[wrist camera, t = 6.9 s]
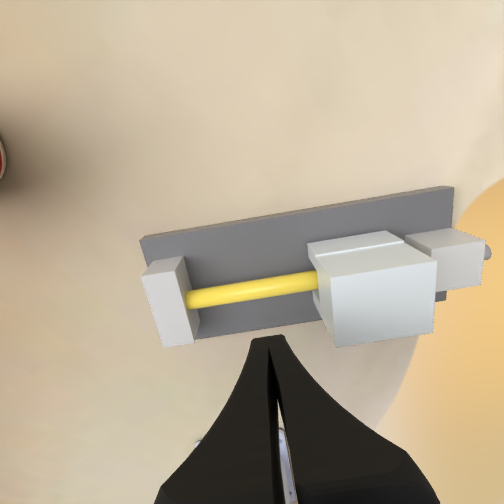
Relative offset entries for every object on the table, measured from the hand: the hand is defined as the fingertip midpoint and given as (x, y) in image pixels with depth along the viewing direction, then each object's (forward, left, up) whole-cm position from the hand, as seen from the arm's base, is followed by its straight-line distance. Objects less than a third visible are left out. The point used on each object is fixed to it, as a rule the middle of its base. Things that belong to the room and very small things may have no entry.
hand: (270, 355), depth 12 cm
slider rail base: (0, -3, -9) cm, 9 cm away
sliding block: (0, -6, -7) cm, 9 cm away
